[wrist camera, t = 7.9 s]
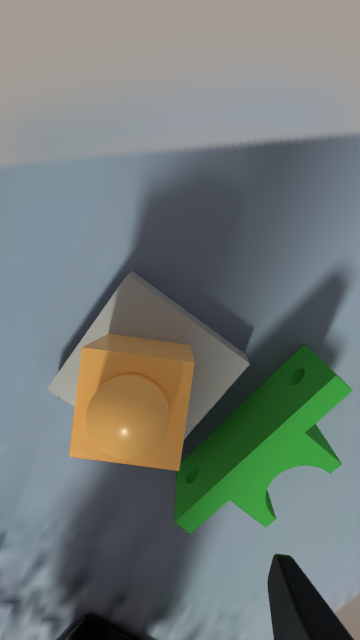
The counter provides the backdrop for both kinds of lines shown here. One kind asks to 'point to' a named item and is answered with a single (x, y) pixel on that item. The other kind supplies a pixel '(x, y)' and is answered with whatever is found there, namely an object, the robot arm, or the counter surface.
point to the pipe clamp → (261, 443)
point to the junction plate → (164, 325)
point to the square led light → (132, 401)
